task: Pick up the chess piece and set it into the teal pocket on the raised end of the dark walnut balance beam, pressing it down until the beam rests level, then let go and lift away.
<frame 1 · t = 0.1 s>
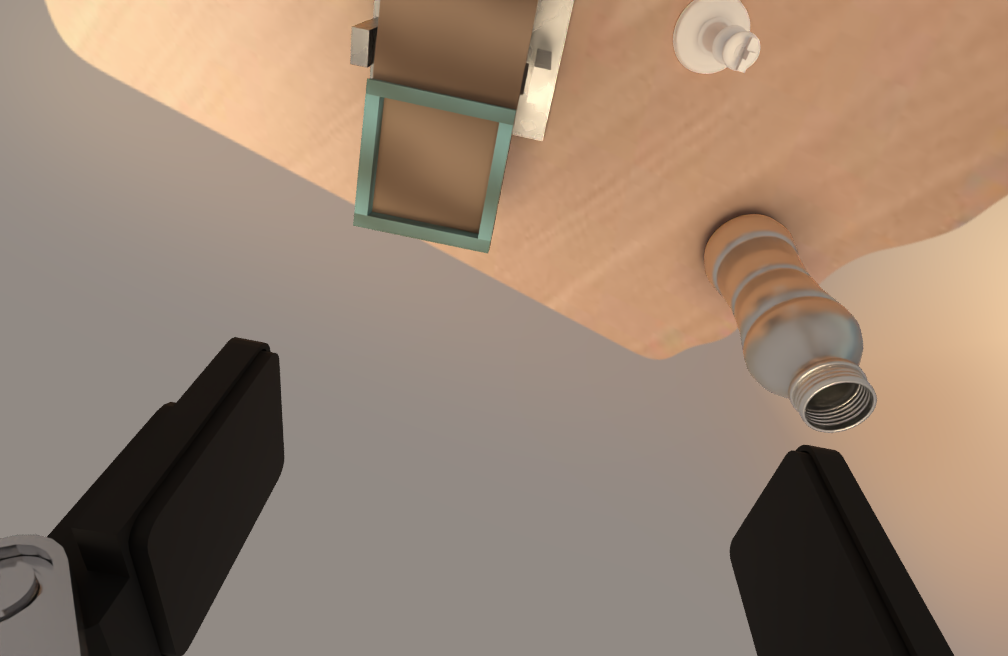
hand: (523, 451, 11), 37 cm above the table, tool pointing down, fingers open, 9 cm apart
balance beam: (450, 63, 34), point 8 cm above the table, hinge at -10.0°
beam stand: (468, 47, 40), on the table
chess piece: (709, 33, 39), on the table
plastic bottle: (739, 243, 47), on the table
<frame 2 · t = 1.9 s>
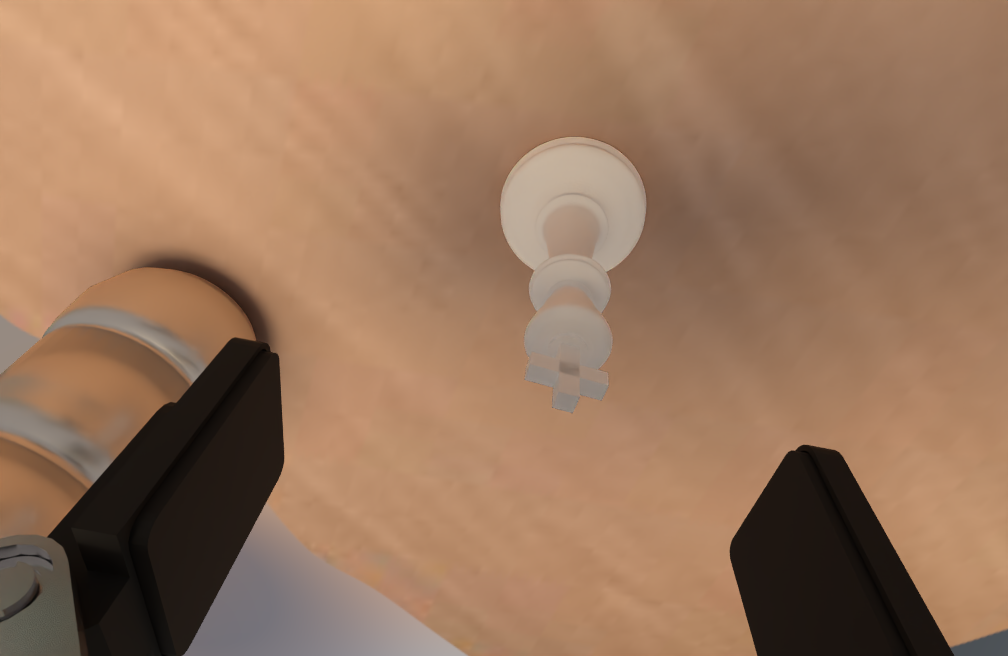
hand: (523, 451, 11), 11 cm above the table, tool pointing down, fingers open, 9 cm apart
chess piece: (572, 207, 20), on the table
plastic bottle: (201, 315, 24), on the table
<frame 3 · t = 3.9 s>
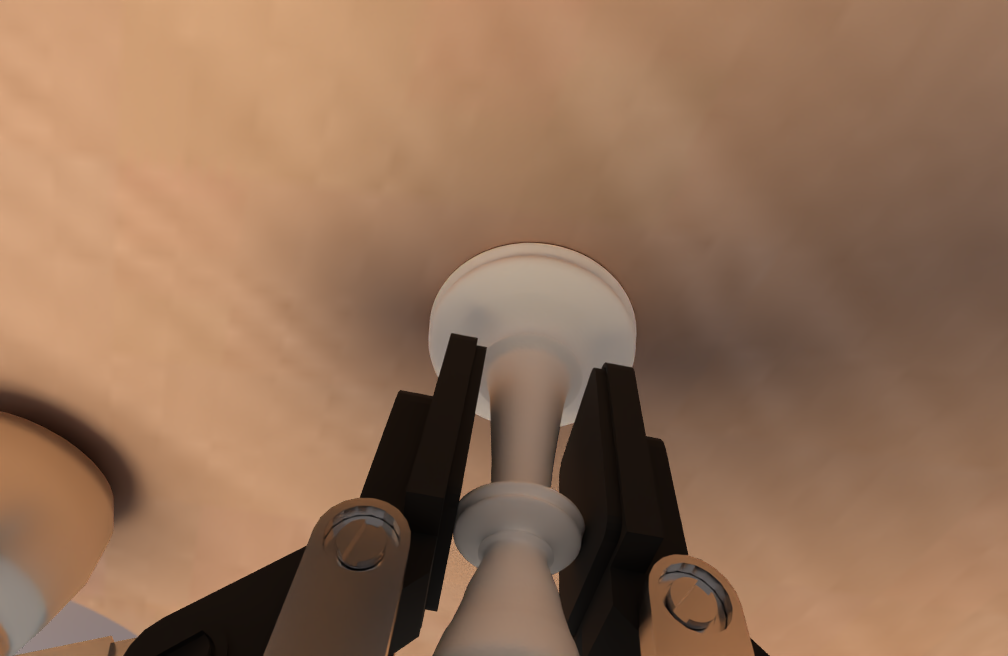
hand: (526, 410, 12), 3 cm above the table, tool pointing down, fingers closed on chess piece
chess piece: (531, 331, 14), on the table, touching gripper
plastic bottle: (40, 454, 18), on the table
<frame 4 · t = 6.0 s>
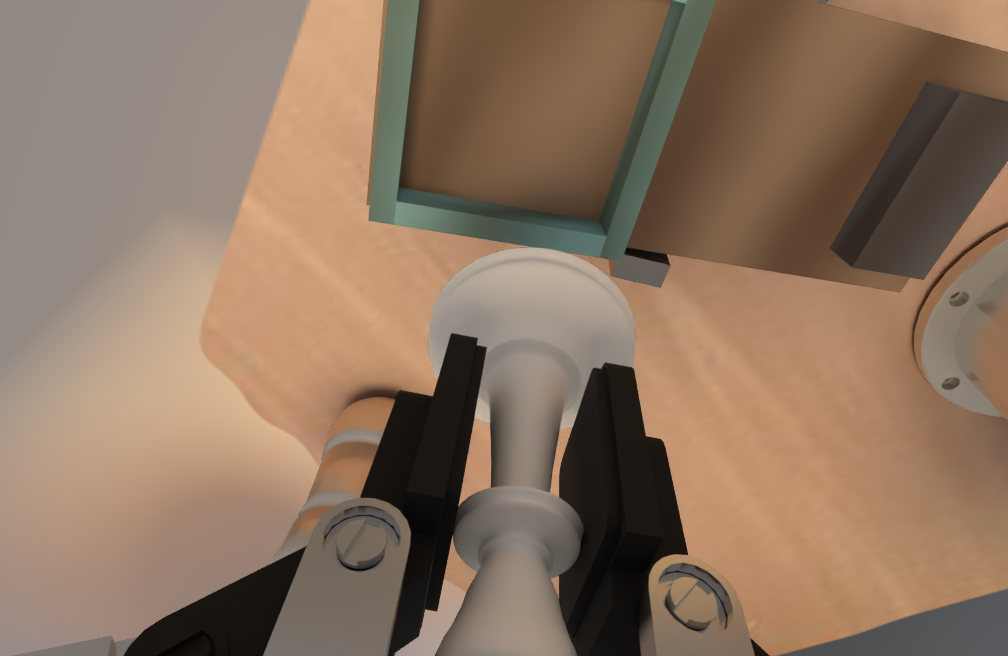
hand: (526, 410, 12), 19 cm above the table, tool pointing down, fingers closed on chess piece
balance beam: (698, 132, 19), point 8 cm above the table, hinge at -10.0°
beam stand: (661, 85, 26), on the table
chess piece: (531, 334, 14), point 17 cm above the table, touching gripper
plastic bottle: (391, 419, 39), on the table
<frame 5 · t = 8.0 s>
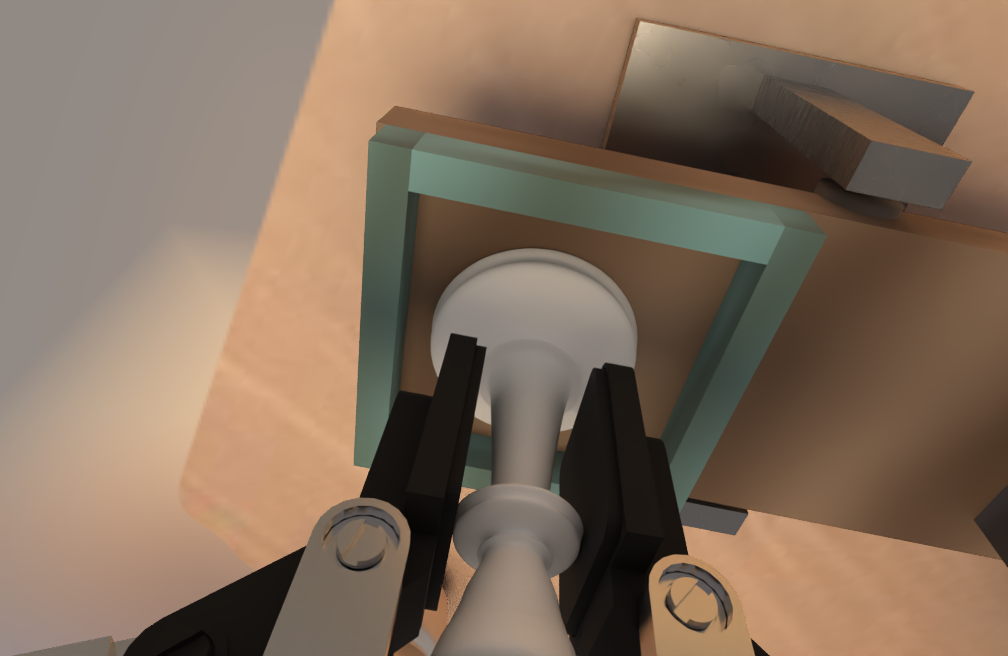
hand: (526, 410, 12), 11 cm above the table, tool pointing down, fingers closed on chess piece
balance beam: (785, 378, 14), point 8 cm above the table, hinge at 0.2°, touching chess piece
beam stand: (716, 243, 21), on the table
chess piece: (533, 336, 14), point 8 cm above the table, touching balance beam, gripper
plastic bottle: (399, 571, 34), on the table
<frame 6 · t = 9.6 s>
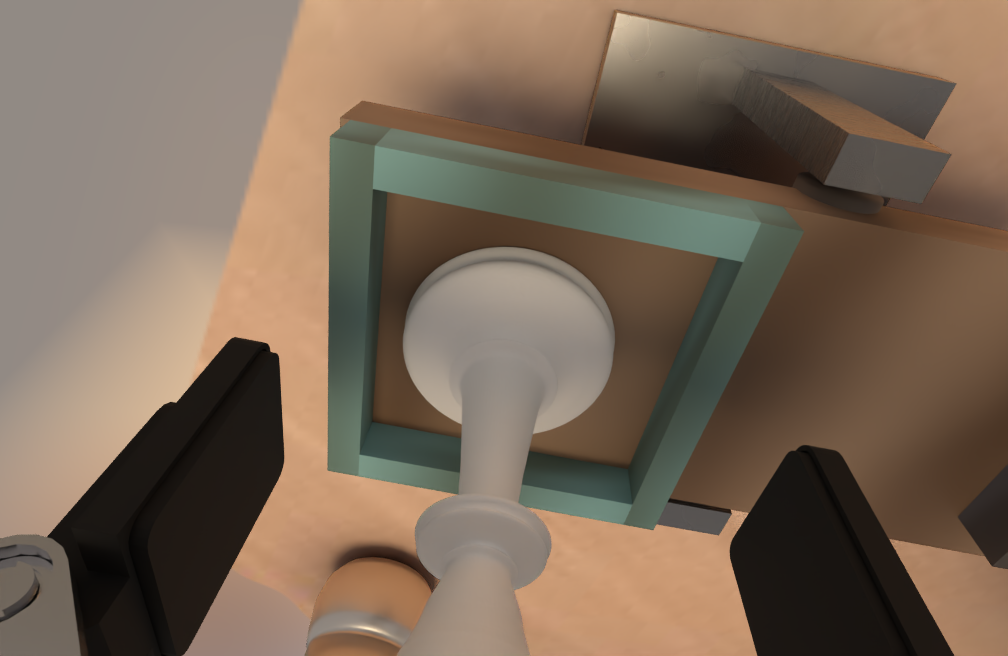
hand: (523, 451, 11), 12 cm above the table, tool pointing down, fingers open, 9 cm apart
balance beam: (766, 376, 14), point 8 cm above the table, hinge at 0.2°, touching chess piece
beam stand: (699, 239, 21), on the table
chess piece: (509, 336, 14), point 8 cm above the table, touching balance beam
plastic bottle: (386, 573, 34), on the table
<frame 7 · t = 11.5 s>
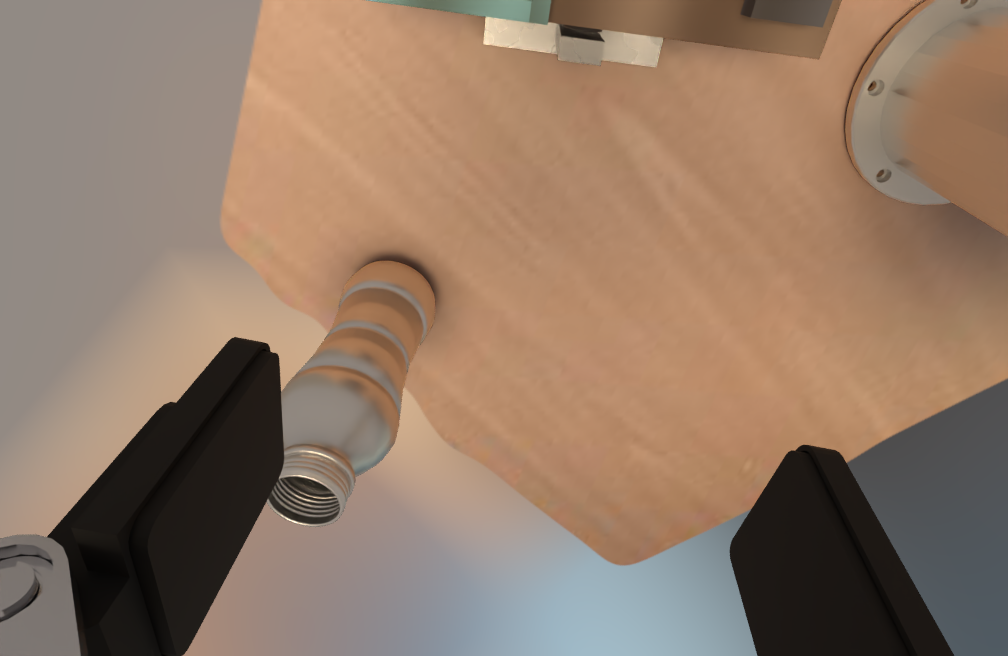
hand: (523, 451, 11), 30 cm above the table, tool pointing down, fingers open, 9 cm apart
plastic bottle: (396, 288, 43), on the table
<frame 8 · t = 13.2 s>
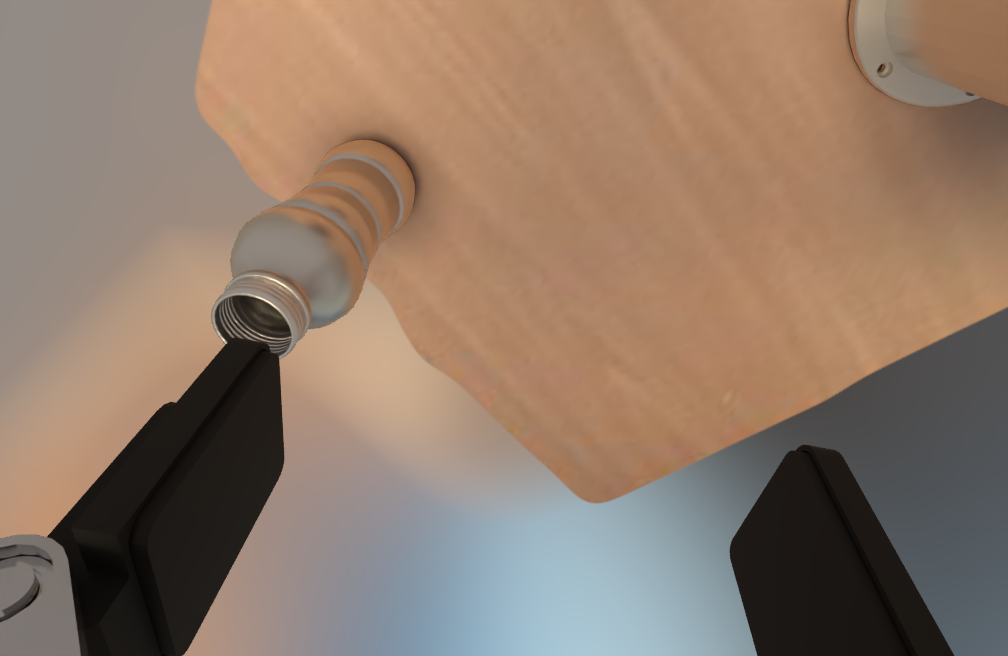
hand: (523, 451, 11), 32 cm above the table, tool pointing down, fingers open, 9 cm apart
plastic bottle: (376, 176, 42), on the table
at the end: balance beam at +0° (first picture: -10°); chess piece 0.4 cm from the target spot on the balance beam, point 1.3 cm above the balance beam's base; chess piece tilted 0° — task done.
